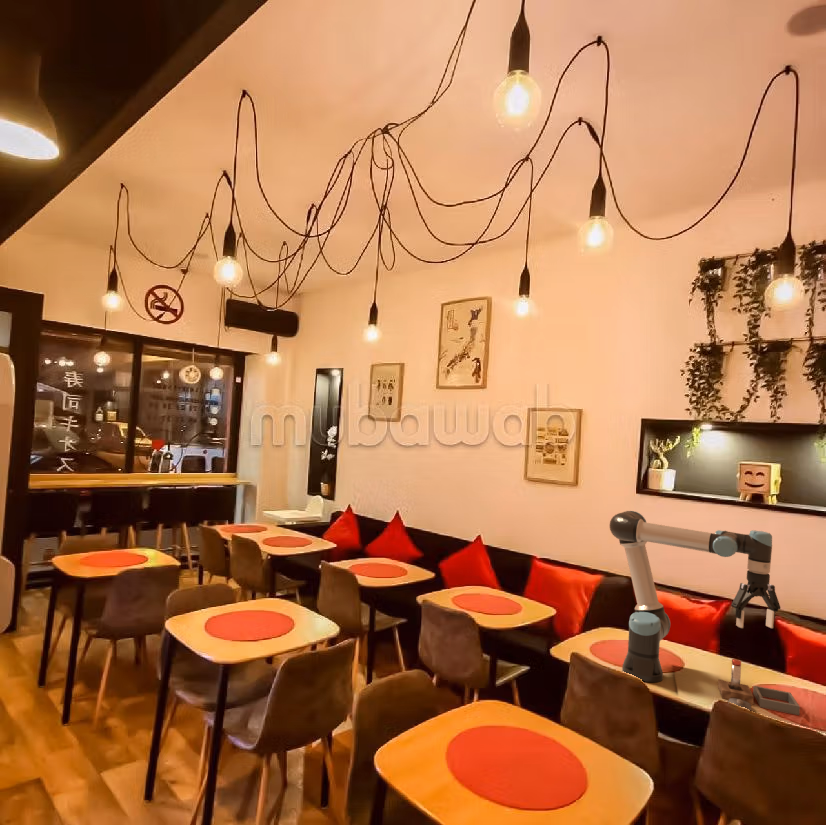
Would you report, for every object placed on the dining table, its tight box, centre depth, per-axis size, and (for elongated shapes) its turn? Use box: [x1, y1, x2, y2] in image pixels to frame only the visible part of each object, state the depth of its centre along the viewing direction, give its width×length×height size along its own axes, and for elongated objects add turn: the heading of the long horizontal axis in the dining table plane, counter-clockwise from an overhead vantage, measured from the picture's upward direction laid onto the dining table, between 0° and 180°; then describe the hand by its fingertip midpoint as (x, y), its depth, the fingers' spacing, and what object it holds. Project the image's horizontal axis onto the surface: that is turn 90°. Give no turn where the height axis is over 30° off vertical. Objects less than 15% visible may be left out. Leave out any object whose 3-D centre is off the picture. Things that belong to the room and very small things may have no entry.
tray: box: [752, 685, 801, 716], centre depth 205 cm, size 12×12×4 cm
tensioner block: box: [717, 679, 755, 711], centre depth 206 cm, size 10×18×4 cm, turn 159°
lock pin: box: [730, 658, 742, 691], centre depth 210 cm, size 3×3×13 cm
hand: (754, 626), depth 216 cm, fingers open, 13 cm apart
